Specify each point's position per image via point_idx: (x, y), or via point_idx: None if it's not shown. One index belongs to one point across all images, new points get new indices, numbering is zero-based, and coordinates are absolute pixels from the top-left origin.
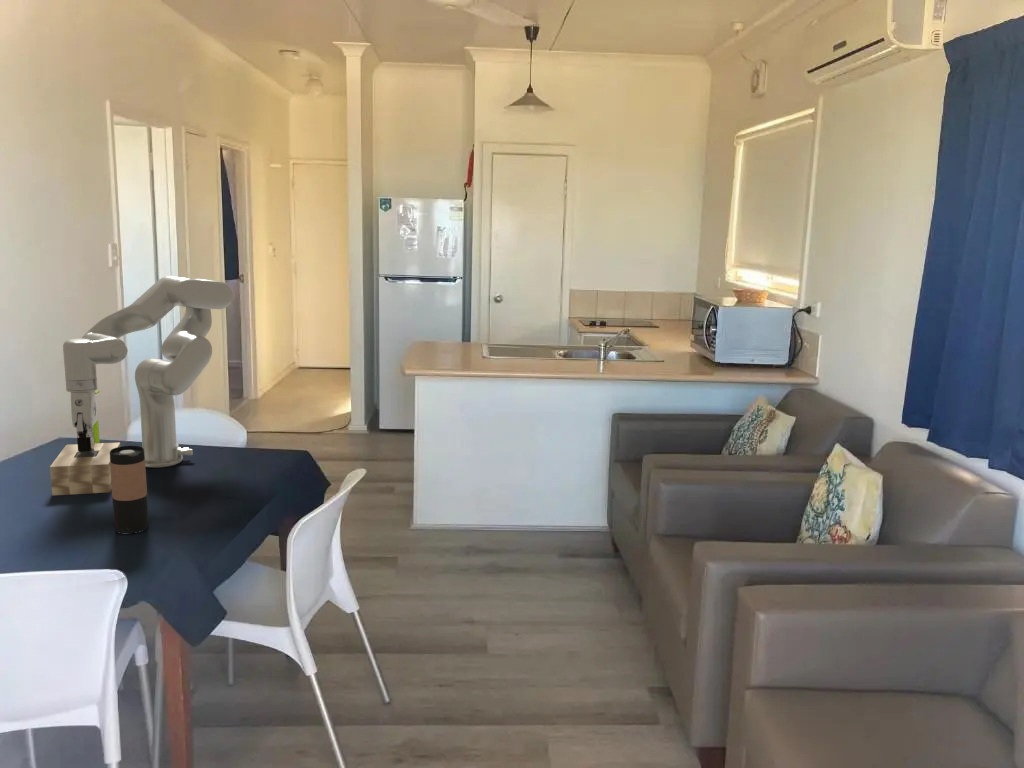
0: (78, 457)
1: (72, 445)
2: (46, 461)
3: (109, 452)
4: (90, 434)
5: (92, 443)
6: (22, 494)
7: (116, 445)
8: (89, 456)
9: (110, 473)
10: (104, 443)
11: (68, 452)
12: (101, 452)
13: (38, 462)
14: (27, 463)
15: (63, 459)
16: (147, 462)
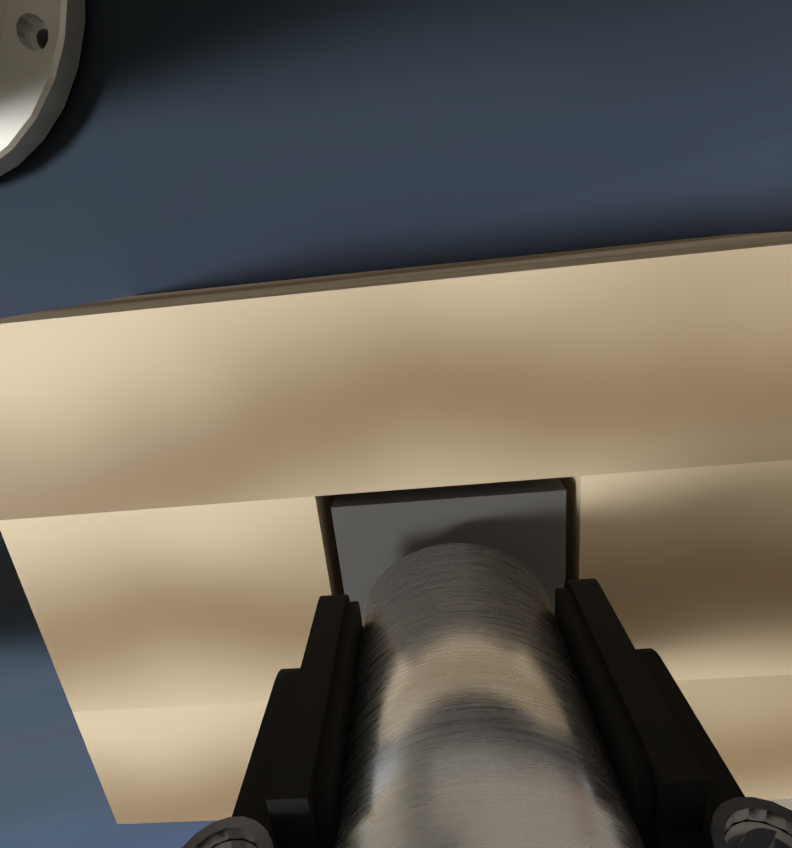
0: None
1: (140, 778)
2: (50, 768)
3: (407, 354)
4: (605, 831)
5: (513, 631)
6: None
7: (71, 343)
8: (561, 547)
9: (751, 238)
10: (11, 513)
11: None
12: (400, 455)
13: (74, 795)
14: (99, 832)
15: None
16: (14, 48)
